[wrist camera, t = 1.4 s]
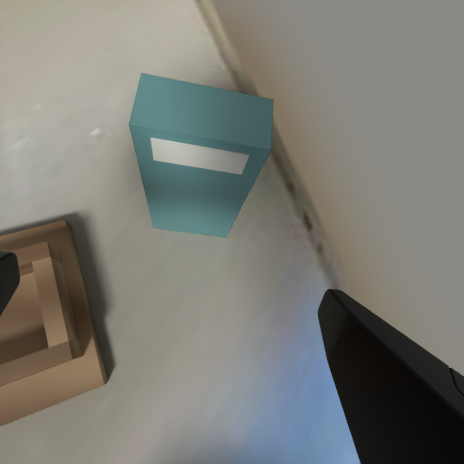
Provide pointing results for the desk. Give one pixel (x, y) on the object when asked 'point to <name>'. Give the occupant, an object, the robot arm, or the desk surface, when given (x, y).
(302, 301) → the desk surface
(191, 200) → the teal labeled box
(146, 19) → the desk surface
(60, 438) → the desk surface
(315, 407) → the desk surface
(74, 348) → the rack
